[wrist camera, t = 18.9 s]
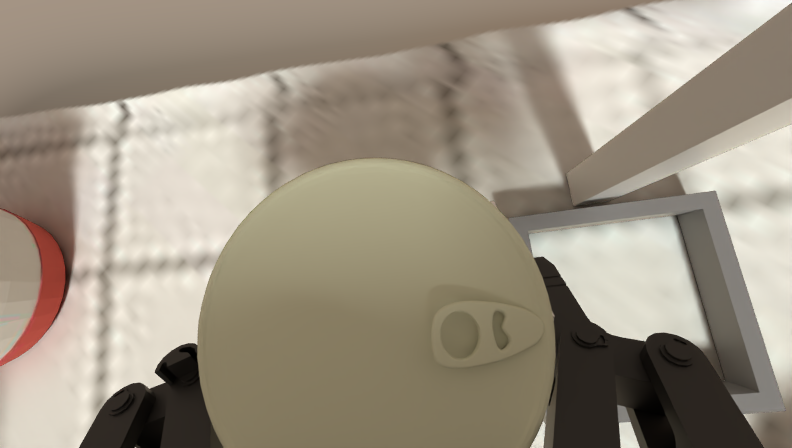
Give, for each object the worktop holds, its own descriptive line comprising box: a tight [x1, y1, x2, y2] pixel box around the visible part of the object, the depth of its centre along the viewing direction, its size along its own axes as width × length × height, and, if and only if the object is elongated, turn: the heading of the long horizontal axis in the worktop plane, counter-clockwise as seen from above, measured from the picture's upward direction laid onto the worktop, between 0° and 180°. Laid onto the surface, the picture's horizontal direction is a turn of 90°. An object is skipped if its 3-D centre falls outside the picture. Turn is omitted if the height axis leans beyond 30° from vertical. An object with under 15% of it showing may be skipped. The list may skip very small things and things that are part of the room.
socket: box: [508, 3, 792, 424], centre depth 13 cm, size 12×15×14 cm
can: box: [197, 158, 556, 448], centre depth 13 cm, size 9×9×12 cm
